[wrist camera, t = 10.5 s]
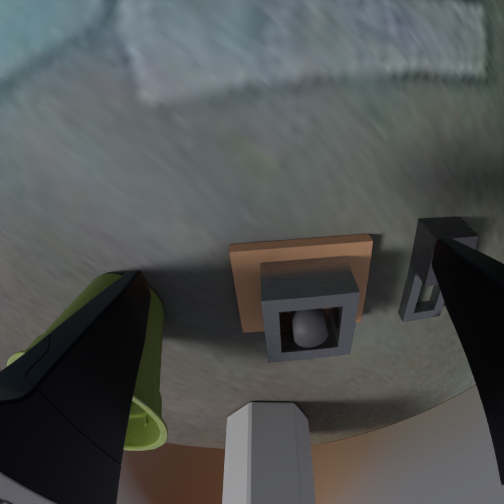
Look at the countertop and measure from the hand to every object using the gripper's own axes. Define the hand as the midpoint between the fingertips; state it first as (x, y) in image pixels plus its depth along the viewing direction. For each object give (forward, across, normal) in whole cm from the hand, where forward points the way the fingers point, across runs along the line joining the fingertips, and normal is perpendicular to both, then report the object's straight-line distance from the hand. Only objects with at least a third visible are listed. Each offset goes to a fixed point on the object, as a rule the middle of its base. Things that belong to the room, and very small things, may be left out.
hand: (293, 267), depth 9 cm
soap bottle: (+12, +4, +32) cm, 34 cm away
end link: (+11, -1, +10) cm, 15 cm away
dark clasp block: (+12, -12, +10) cm, 20 cm away
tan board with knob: (+12, -1, +10) cm, 16 cm away
